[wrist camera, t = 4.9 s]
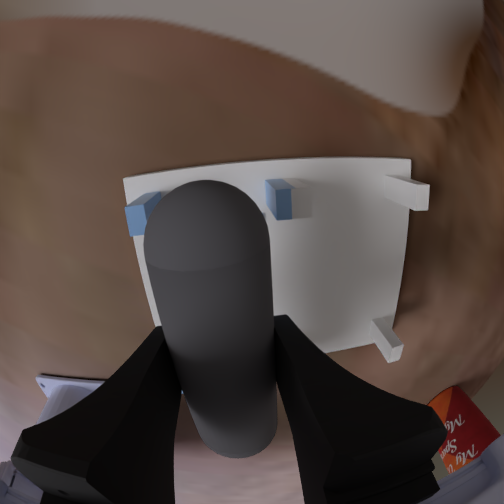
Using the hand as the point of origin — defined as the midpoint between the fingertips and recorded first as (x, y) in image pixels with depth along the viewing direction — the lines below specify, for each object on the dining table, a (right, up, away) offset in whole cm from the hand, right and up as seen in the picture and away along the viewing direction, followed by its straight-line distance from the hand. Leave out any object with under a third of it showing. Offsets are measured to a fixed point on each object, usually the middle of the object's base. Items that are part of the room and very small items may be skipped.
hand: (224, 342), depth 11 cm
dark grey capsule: (0, 0, +1) cm, 1 cm away
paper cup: (+23, -14, +14) cm, 31 cm away
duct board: (+3, +3, +6) cm, 7 cm away
